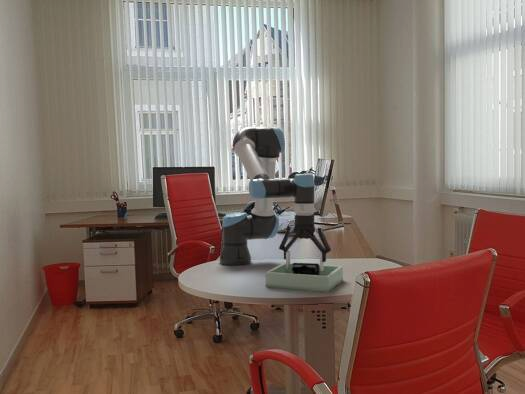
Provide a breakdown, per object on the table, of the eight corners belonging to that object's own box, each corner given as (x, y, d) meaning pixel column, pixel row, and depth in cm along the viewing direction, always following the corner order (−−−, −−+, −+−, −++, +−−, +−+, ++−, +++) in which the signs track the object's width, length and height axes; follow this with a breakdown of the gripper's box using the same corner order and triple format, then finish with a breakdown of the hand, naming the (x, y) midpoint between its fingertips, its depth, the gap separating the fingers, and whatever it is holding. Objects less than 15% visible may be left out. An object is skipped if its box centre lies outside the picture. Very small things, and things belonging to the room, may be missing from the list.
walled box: (265, 286, 190) (265, 272, 190) (284, 275, 209) (284, 262, 209) (328, 292, 181) (328, 276, 181) (342, 280, 200) (342, 266, 199)
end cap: (319, 279, 197) (319, 262, 197) (316, 283, 190) (316, 265, 190) (294, 278, 200) (294, 261, 199) (290, 282, 193) (290, 264, 193)
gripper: (270, 214, 195) (271, 268, 196) (333, 216, 185) (333, 273, 187) (277, 212, 202) (278, 265, 203) (338, 214, 192) (338, 269, 194)
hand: (304, 269), depth 195 cm, fingers open, 13 cm apart
